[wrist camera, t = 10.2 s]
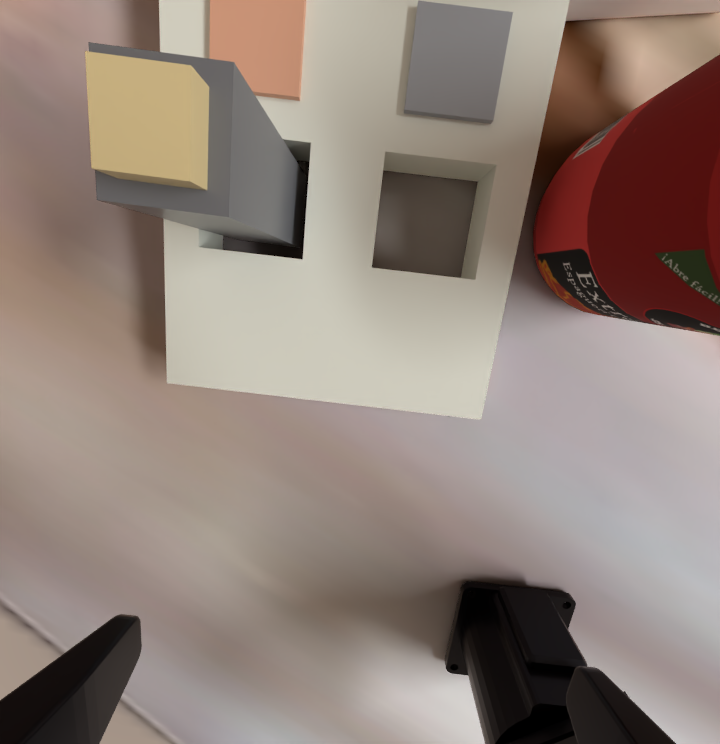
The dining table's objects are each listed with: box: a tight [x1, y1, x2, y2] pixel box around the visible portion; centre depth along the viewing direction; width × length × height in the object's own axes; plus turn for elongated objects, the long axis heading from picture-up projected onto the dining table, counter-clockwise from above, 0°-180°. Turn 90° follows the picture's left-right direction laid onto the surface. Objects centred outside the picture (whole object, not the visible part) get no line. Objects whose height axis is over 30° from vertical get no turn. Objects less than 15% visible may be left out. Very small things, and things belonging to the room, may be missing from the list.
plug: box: [85, 42, 307, 248], centre depth 12 cm, size 3×3×10 cm
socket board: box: [159, 0, 570, 420], centre depth 15 cm, size 16×14×3 cm
